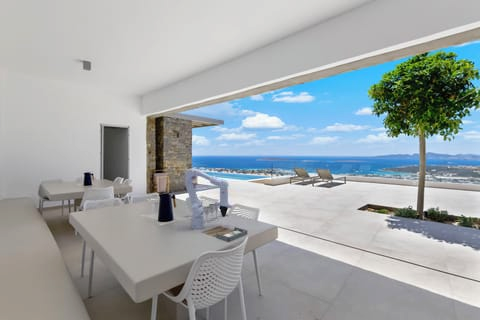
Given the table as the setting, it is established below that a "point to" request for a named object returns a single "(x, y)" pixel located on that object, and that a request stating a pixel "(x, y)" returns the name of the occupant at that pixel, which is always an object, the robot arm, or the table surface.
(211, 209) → the goblet set
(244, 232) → the tray
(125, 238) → the table surface
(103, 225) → the table surface
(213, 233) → the walnut board
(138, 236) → the table surface
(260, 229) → the table surface
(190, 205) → the heart sculpture
